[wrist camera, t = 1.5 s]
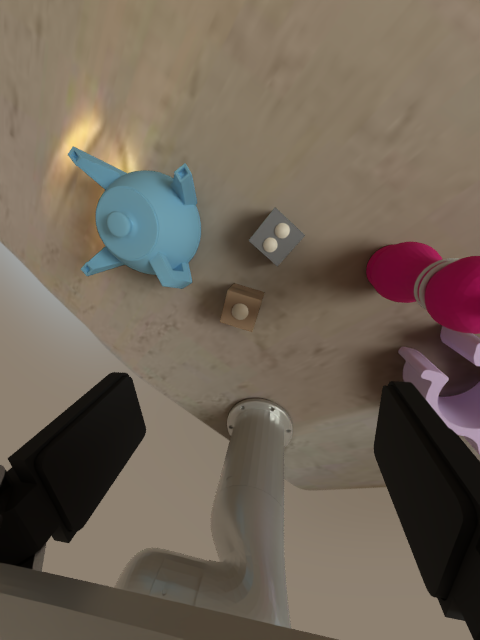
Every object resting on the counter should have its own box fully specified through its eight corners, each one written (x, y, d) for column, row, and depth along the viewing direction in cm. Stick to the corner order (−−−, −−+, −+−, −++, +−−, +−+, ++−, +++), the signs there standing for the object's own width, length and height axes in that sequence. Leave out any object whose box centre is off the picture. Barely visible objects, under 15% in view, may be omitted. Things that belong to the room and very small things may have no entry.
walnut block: (255, 320, 40) (251, 332, 35) (227, 311, 40) (219, 322, 35) (264, 292, 38) (261, 300, 33) (234, 283, 38) (227, 290, 33)
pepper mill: (431, 266, 32) (625, 311, 14) (384, 303, 35) (496, 381, 17) (395, 228, 32) (551, 223, 13) (351, 269, 34) (428, 311, 16)
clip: (532, 407, 37) (585, 444, 30) (448, 440, 41) (478, 478, 35) (465, 310, 34) (508, 328, 27) (382, 356, 38) (402, 381, 32)
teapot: (116, 266, 41) (62, 277, 31) (113, 164, 35) (46, 137, 25) (202, 284, 39) (174, 301, 29) (213, 179, 34) (183, 157, 24)
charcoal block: (278, 262, 36) (277, 266, 31) (253, 239, 35) (248, 240, 31) (302, 235, 34) (305, 235, 29) (276, 210, 34) (275, 207, 29)
